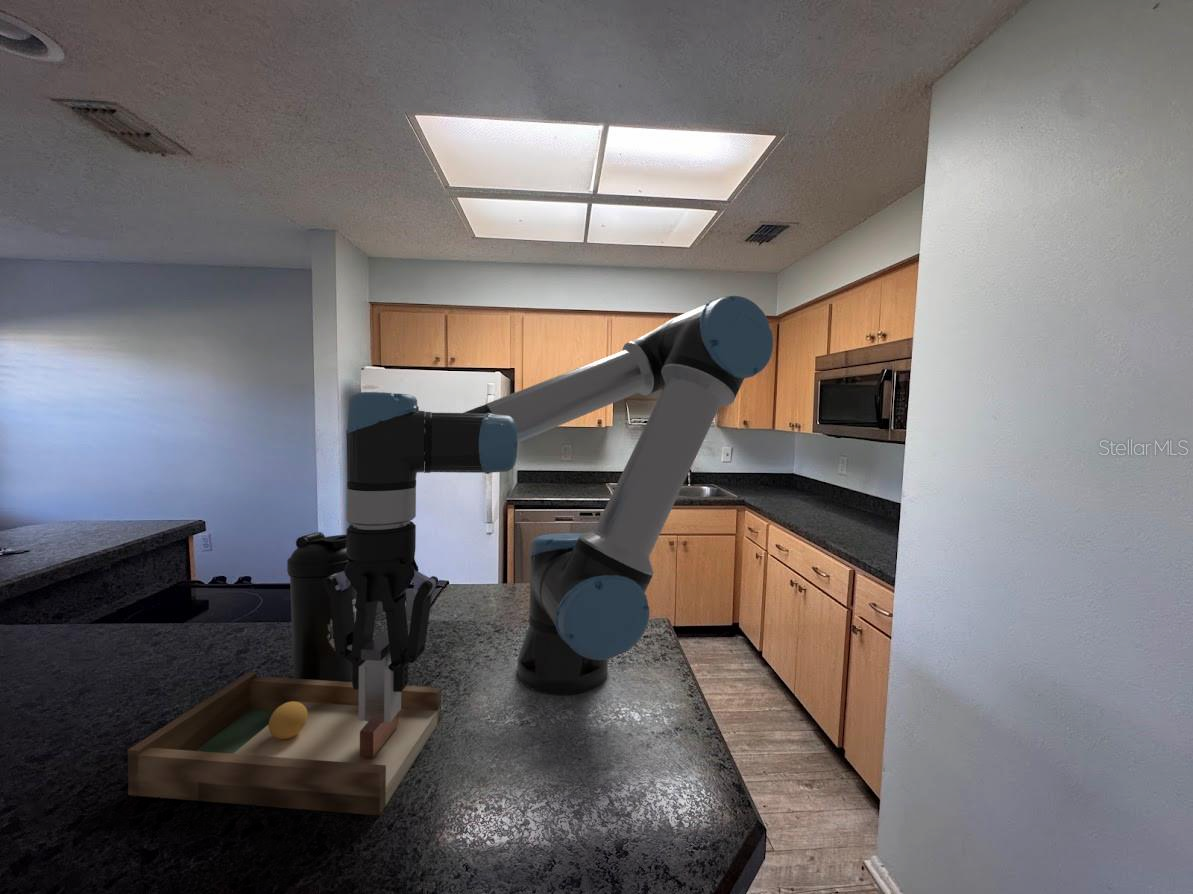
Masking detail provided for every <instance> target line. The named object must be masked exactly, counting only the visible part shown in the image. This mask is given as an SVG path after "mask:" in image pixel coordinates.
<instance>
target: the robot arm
mask: <svg viewBox="0 0 1193 894" xmlns="http://www.w3.org/2000/svg"><path fill="white" fill-rule="evenodd" d="M773 349H774V335H773V331H772V329H771V328H770V322H769V319H768V318H767V316H766V314H765V312H764V311H763V310H762V309H761V308H760V307H759V305H757V304H756V302H754V301H752V300H751V299H749V298H746V297H744V296H740V295H729V296H728V295H727V296H723V297H719V298H715V299H711V300H710V301H708V302H706V304H705V305H701V306H699V307H697V308H694V309H692V310H690V311H687V312H685V313H683V314H680V315H677V316H675V317H672V318H671V319H670V320H668V321H666V322H664V323H662V324H661V325H660V326H658V327H656V328H655V329H653V330H651V331H649V332H647V333H645V334H643V335H642V336H640V337H637V338H636V339H633V340H630V341H628V342H626V343H625V344H624V345H623V347H622V349H621V350H620V351H619V352H616V353H614V354H611V355H609V356H605V357H603V358H601V359H598V360H596V361H593V362H589V363H588V364H585V365H582V366H580V367H577V368H575V369H573V370H570V371H568V372H565V373H562V374H559V375H557V376H554V377H552V378H549V379H547V380H544V381H542V382H539V383H536V384H534V385H531V386H529V387H526V388H523V389H521V390H517V391H516V392H513V393H510V394H508V395H505V396H503V397H500V398H498V399H495V400H493V401H490V402H488V403H485V404H483V405H479V406H477V407H474V408H472V409H470V410H466V411H464V412H432V411H425V410H420V409H419V405H418V399H417V397H416V396H414V395H413V394H409V393H408V394H407V393H394V392H393V393H392V392H385V391H384V392H381V391H379V392H378V391H362V392H361V391H360V392H357V393H355V394H354V395H352V396H351V398H350V399H349V402H348V414H347V415H348V416H347V417H348V418H347V429H346V430H345V434H346V479H347V480H346V518H345V519H346V521H347V522H348V523H349V526H348V527H347V528H346V535H347V538H346V554H347V556H348V558H349V559H348V563H347V565H346V566H345V569H344V571H343V572H337V573H335V574H333V575H331V576H329V577H327V578H326V579H324V581H323V585H324V587H325V589H326V592H327V594H328V596H329V598H330V607H331V617H332V626H333V635H334V644H335V654H336V657H337V658H338V659H343V658H345V659H348V660H350V662H351V663H352V680H351V682H352V685H353V688H354V689H358V690H359V710H358V720H359V721H365V691H366V660H361V649H362V648H364V647H365V646H366V645H367V644H368V643H370V642H371V641H372V640H373V639H374V631H375V623H376V617H377V616H376V615H377V608H378V604H379V602H380V603H381V605H382V611H383V612H384V613H385V618H386V628H387V633H388V639H389V648H390V657H391V663H390V664H389V665H388V666H387V667H386V668H385V682H384V722H391V721H392V720H393V718H394V717H395V716H396V715H397V713H398V712H399V711H400V710H401V692H402V690H403V689H404V688H405V687H406V686H408V683H409V664H414V663H415V661H417V660H418V658H419V657H421V656H422V654H423V653H424V652H425V651H426V650H425V649H426V641H427V634H428V633H427V632H428V628H429V627H428V626H429V621H430V620H429V618H430V612H431V602H432V597H433V593H434V592H435V590H436V588H437V586H438V584H439V578H438V577H437V576H434V575H432V576H430V577H428V576H427V575H426V574H423V573H421V572H420V571H419V566H418V564H417V561H416V559H415V556H416V555H415V554H416V542H417V540H416V539H417V538H416V537H417V536H416V533H417V528H416V526H417V525H416V524H415V523H414V522H413V520H414V519H415V518H416V517H417V515H416V514H417V510H416V508H417V500H416V499H417V473H425V474H427V473H428V474H430V473H456V474H457V473H461V474H462V473H467V474H468V473H470V474H471V473H474V474H475V473H478V474H479V473H480V474H481V473H482V474H486V475H490V474H492V473H506V472H509V471H511V470H513V468H514V466H515V464H516V461H517V455H518V444H519V443H521V442H523V441H526V440H528V439H530V438H533V437H535V436H537V435H541V434H542V433H545V432H547V431H550V430H552V429H555V428H558V427H559V426H561V425H564V424H566V423H569V422H571V421H573V420H577V419H579V418H581V417H583V416H586V415H588V414H590V413H593V412H595V411H598V410H600V409H602V408H605V407H608V406H609V405H612V404H614V403H617V402H618V401H619V402H620V401H621V400H624V399H626V398H628V397H631V396H633V395H636V394H638V395H639V394H640V395H641V396H648V395H649V396H650V394H653V393H655V392H658V391H661V390H662V391H661V392H660V395H659V397H658V399H657V401H656V403H655V405H654V407H653V409H652V411H651V413H650V415H649V417H648V420H647V422H646V424H645V425H644V428H643V430H642V432H641V434H640V436H639V438H638V441H637V443H636V444H635V446H634V449H633V451H632V452H631V455H630V456H629V459H628V461H627V462H626V465H625V466H624V469H623V471H622V473H621V476H620V477H619V480H618V481H617V484H616V485H615V487H614V489H613V491H612V494H611V496H610V498H609V500H608V502H607V504H606V506H605V508H604V510H603V512H602V514H601V516H600V519H599V520H598V522H597V525H596V527H595V528H594V529H593V530H591V531H589V532H586V533H584V532H583V533H580V532H578V533H577V532H567V533H565V532H561V533H550V534H549V533H548V534H543V535H538V536H536V537H535V538H533V540H532V541H531V544H530V552H529V559H530V560H529V561H530V563H529V564H530V565H529V566H530V567H529V613H528V614H529V620H528V621H529V622H528V628H527V630H526V634H525V636H524V639H523V642H522V645H521V647H520V650H519V653H518V657H517V676H518V679H519V680H520V681H521V683H523V685H525V686H527V687H528V688H529V689H532V690H534V691H536V692H540V693H544V694H547V695H548V694H549V695H561V696H562V695H575V694H579V693H584V692H587V691H589V690H593V689H594V688H596V687H597V686H599V685H601V684H602V683H603V682H604V681H605V679H606V678H607V675H608V671H609V670H608V667H609V666H608V665H609V662H608V661H609V660H610V659H611V660H612V659H614V658H615V657H617V656H619V655H623V654H626V653H627V652H628V651H630V650H631V649H632V648H633V647H634V646H636V644H637V643H638V642H639V641H640V640H641V638H642V636H643V635H644V633H645V632H646V629H647V628H648V627H647V626H648V624H649V621H650V607H649V602H648V601H649V600H648V598H647V595H646V591H647V589H648V587H649V584H650V583H651V580H652V578H653V576H654V570H653V569H654V568H653V566H652V564H651V561H650V556H651V554H652V552H653V549H654V548H655V546H656V544H657V541H658V540H659V539H658V538H659V537H660V534H661V532H662V530H663V529H664V526H665V524H666V522H667V520H668V517H669V516H670V513H671V511H672V509H673V507H674V504H675V503H676V500H677V498H678V496H679V494H680V492H681V490H682V488H683V486H684V483H685V481H686V479H687V477H688V475H689V473H690V470H691V468H692V466H693V464H694V462H695V460H696V458H697V455H698V454H699V451H700V449H701V447H702V444H703V443H704V441H705V439H706V437H707V435H708V432H709V430H710V428H711V426H712V423H713V421H714V419H715V417H716V415H717V413H718V411H719V410H720V408H724V407H726V406H729V405H732V404H733V403H734V402H735V399H736V397H737V395H738V393H739V391H740V389H741V386H742V384H743V383H744V381H745V379H749V378H752V377H754V376H756V375H757V374H760V372H762V371H763V370H764V369H765V368H766V367H767V366H768V363H769V362H770V360H771V357H772V354H773ZM350 583H351V584H352V586H353V587H354V589H355V590H356V592H357V594H356V602H355V609H357V612H356V619H355V622H354V613H353V603H352V594H351V589H350ZM412 583H413V591H412V592H413V594H415V596H414V598H413V601H412V602H413V603H412V609H411V615H410V624H409V625H410V626H409V630H408V619H407V611H406V610H407V609H406V601H407V593H406V590H407V589H408V588H409V587H410V585H411V584H412Z"/></svg>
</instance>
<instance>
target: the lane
mask: <svg viewBox="0 0 1193 894" xmlns="http://www.w3.org/2000/svg"><path fill="white" fill-rule="evenodd" d="M292 701H295V702H299V703H301V704H303V705H304V706H305V707H306V709H307V713H308V717H307V721H306V724H305V726H304V727H303V729H302V730H301V731H300V732H299V733H298V734H296V735H295V736H293V737H291V738H288V739H278V738H276V737H274V736H273V735H272V734H271V733H270V731H269V720H270V717H271V715H272V714H273V712H274V711H275V710H276V709H277V708H278V707H279V706H281V705H283V704H285V703H287V702H292ZM358 710H359V690H358V689H354V688H353V685H352V681H350V682H340V681H324V680H309V679H294V677H293V678H292V677H291V678H290V677H289V678H288V677H275V676H259V675H258V673H257V672H250V671H249V672H247V673H245V674H244V675H242V676H241V677H239V678H237V679H236V680H234V681H233V682H232V683H230V684H228V685H226V686H225V687H223V688H222V689H220V690H218V691H217V692H216V693H214V694H213V695H211V696H209V697H207V698H206V699H205V700H203V701H202V702H200V703H199V704H197V705H195V706H194V707H192V708H191V709H189V710H187V711H186V712H185V713H182V714H181V715H180V716H179V717H176V718H175V719H174V720H172V721H171V722H169V723H167V724H166V725H165V726H163V727H161V728H159V729H158V730H156V731H155V732H153V733H152V734H150V735H149V736H147V737H146V738H144V739H142V740H141V741H139V742H138V743H136V744H135V745H133V746H131V747H130V748H128V749H127V783H128V784H127V785H128V786H127V787H128V789H127V791H128V792H127V793H128V796H133V797H134V796H137V797H147V798H159V797H160V799H172V800H173V799H174V800H183V801H185V800H186V801H194V802H195V801H196V802H211V803H221V804H222V803H223V804H234V805H235V804H236V805H245V806H246V805H247V806H257V807H258V806H259V807H271V808H283V809H294V810H306V811H320V812H321V811H322V812H331V813H332V812H333V813H344V814H355V815H357V814H358V815H369V816H381V814H382V813H383V812H384V809H385V808H386V806H387V805H388V803H389V801H390V800H391V798H392V797H393V795H394V793H395V792H396V790H397V789H398V787H399V786H400V785H401V783H402V781H403V779H404V778H405V777H406V774H407V773H408V772H409V770H410V768H411V767H412V766H413V763H414V762H415V760H416V759H417V757H418V756H419V755H420V753H421V751H422V750H423V748H424V747H425V745H426V744H427V742H428V740H429V738H430V737H431V735H432V734H433V733H434V731H435V730H436V728H437V726H438V725H439V723H440V721H441V719H442V718H441V717H442V687H433V686H416V685H407V686H406V687H405V688H404V689H403V690H402V692H401V710H400V711H399V725H398V726H397V727H396V729H395V730H394V731H393V733H392V734H391V735H390V736H389V738H388V739H387V740H386V742H385V743H384V744H383V746H382V747H381V748H380V749H379V751H378V752H377V753H376V755H375V756H374V757H373V758H369V757H360V731H361V730H362V728H363V727H364V726H365V725H366V724H367V723H368V722H367V721H359V720H358Z"/></svg>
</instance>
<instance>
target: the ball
mask: <svg viewBox="0 0 1193 894" xmlns="http://www.w3.org/2000/svg"><path fill="white" fill-rule="evenodd" d="M307 717H308V713H307V709H306V707H305V706H304V705H303V704H301V703H299V702H295V701H292V702H287V703H285V704H283V705H281V706H279V707H278V708H277V709H276V710H275V711H274V712H273V714H272V715H271V717H270V720H269V731H270V733H271V734H272V735H273V736H274V737H276V738H278V739H288V738H291V737H293V736H295V735H296V734H298V733H299V732H300V731H301V730H302V729H303V727H304V726H305V724H306V721H307Z"/></svg>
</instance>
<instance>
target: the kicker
mask: <svg viewBox="0 0 1193 894" xmlns="http://www.w3.org/2000/svg"><path fill="white" fill-rule="evenodd" d="M361 660H366V691H365V721H367V722H368V723H367V724H366V725H365V726H364V727H363V728H362V730H361V731H360V757H369V758H373V757H374V756H375V755H376V753H377V752H378V751H379V749H380V748H381V747H382V746H383V744H384V743H385V742H386V740H387V739H388V738H389V736H390V735H391V734H392V733H393V731H394V730H395V729H396V727H397V726H398V725H399V712H398V713H397V715H396V716H395V717H394V718H393V720H392V721H391V722H384V682H385V668H386V667H387V666H388V665H389V664H390V663H391V657H390V648H389V639H388V632H387V633H384V632H380V633H379V634H378V635H376V637H373V640H372V641H371V642H370V643H368V644H367V645H366V646H365V647H364V648H362V649H361Z"/></svg>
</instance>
